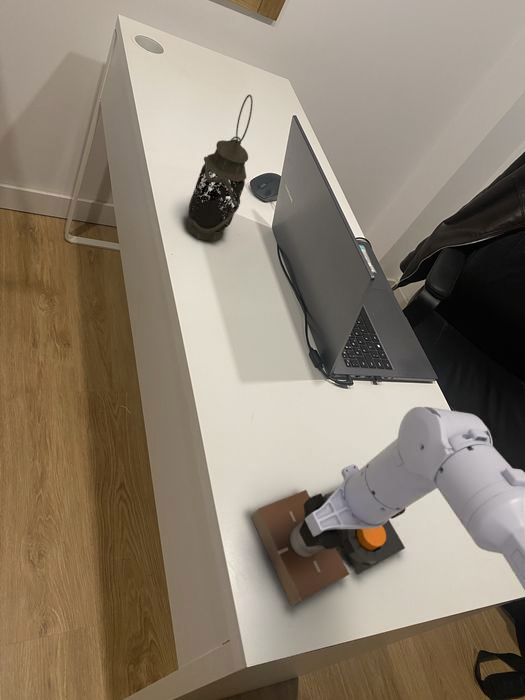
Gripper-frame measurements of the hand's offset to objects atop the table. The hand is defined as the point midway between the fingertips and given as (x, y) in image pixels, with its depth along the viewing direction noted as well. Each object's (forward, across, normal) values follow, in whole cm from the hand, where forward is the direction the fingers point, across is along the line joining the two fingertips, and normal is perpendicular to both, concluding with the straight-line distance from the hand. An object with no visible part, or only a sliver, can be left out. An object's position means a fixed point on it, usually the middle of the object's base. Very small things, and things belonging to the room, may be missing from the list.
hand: (329, 526), depth 60 cm
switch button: (+5, -8, +3) cm, 10 cm away
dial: (+6, +1, 0) cm, 6 cm away
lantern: (+9, -12, -62) cm, 64 cm away
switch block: (+9, -10, +1) cm, 14 cm away
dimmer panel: (+9, +1, 0) cm, 9 cm away
